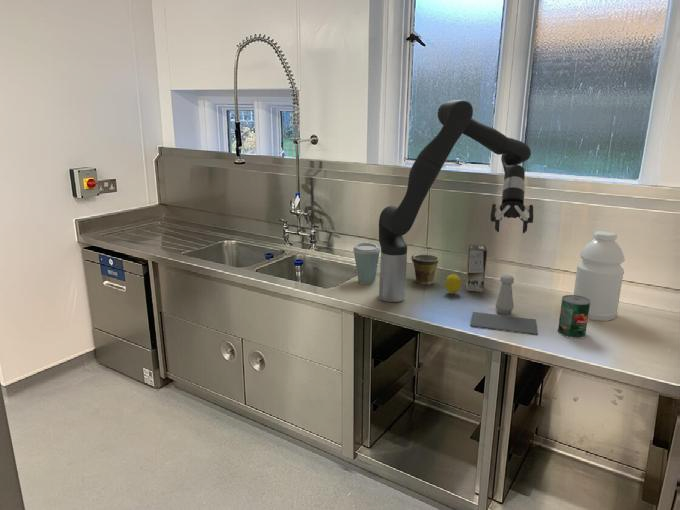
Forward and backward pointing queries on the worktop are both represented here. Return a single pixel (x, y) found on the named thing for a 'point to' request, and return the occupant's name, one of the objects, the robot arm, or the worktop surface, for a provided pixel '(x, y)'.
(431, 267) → the ceramic cup
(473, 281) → the coffee box
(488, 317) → the mat
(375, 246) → the disposable coffee cup
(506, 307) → the salt shaker
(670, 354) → the worktop surface
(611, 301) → the bottle
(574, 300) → the canned tomato
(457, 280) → the lemon
